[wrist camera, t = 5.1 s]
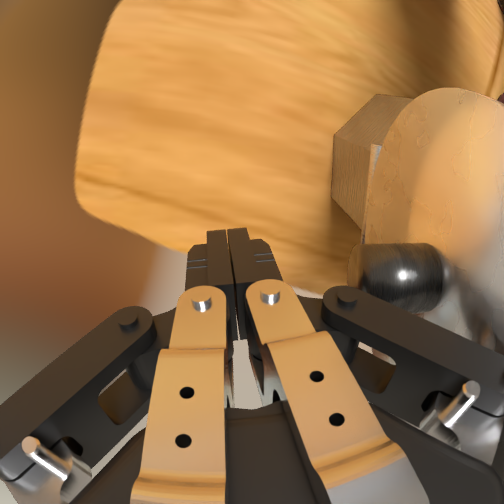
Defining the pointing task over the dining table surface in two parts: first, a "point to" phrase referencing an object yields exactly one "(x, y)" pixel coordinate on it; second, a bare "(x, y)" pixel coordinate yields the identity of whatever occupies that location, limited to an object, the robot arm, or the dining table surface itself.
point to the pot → (361, 152)
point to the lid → (439, 219)
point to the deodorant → (501, 4)
